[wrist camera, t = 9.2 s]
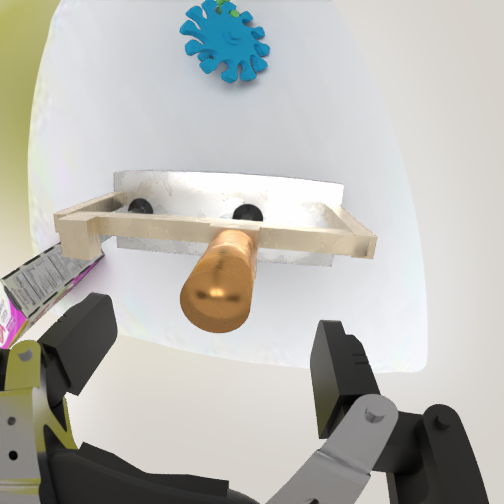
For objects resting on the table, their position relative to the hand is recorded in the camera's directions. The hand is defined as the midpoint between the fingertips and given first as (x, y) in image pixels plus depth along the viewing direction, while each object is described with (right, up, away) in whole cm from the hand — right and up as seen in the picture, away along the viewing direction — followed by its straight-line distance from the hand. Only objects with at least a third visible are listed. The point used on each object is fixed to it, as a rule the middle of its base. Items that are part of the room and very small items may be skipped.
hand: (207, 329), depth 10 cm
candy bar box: (-23, +1, +24) cm, 33 cm away
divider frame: (-2, +7, +20) cm, 22 cm away
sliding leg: (+1, +7, +18) cm, 19 cm away
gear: (0, +25, +14) cm, 29 cm away
